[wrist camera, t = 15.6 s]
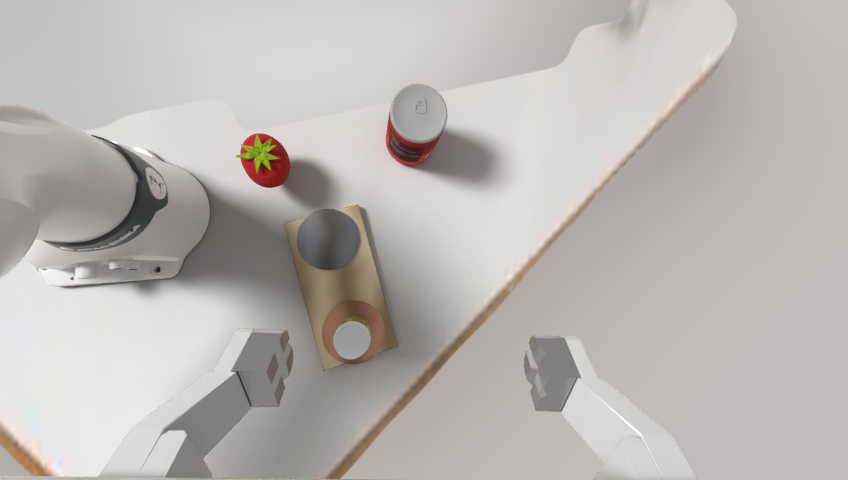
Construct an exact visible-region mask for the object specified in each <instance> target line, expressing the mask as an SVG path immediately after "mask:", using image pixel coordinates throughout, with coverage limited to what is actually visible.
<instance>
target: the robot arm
mask: <svg viewBox="0 0 848 480" xmlns="http://www.w3.org/2000/svg"><path fill="white" fill-rule="evenodd" d="M209 218H210V205H209V200H208V197H207V194H206V192H205V190H204V188H203V186H202V185H201V184H200V182H199V181H198V180H197V179H196V178H195V177H194V176H193V175H191V174H190V173H189V172H187V171H185V170H184V169H182V168H180V167H177V166H174V165H171V164H168V163H165V162H163V161H161V160H160V159H159V158H157V157H156V156H155V155H154V154H153V153H151V152H150V151H148V150H146V149H143V148H141V147H135V148H132V149H131V148H129V147H126V146H124V145H121V144H118V143H116V142H113V141H110V140H107V139H104V138H101V137H98V136H94V135H89V134H87V133H85V132H83V131H81V130H79V129H77V128H75V127H73V126H71V125H69V124H67V123H65V122H63V121H61V120H59V119H57V118H55V117H53V116H51V115H49V114H47V113H45V112H43V111H41V110H37V109H34V108H30V107H26V106H20V105H10V104H9V105H0V279H1V278H2V277H4V276H5V275H6V274H7V273H9V272H10V271H11V270H12V269H13V268H14V267H15V266H16V265H17V264H18V263H19V262H20V261H21V260H22V259H23V258H25V259H26V261H28V262H29V263H30V264H31V265H32V266H34V268H35V269H36V271H37V272H38V273H39V275H40V276H41V277H42V278H43V279H44V280H45V281H46V282H47V283H49V284H50V285H52V286H61V287H64V286H77V285H90V284H102V283H114V282H127V281H139V280H151V279H164V278H172V277H174V276H176V275H177V273H178V272H179V270H180V268H181V266H182V264H183V261H184V259H185V257H186V255H187V254H188V253H189V252H190V251H191V250H192V249H193V248H194V247H195V246H196V245H197V244H198V243H199V241H200V240H201V238H202V237H203V235H204V233H205V231H206V229H207V226H208V223H209ZM158 267H160V269H161V270H160V272H157V268H158ZM288 340H289V334H288V331H285V330H266V329H238V330H237V331H236V332H235V334H234V335H233V337H232V339H231V341H230V343H229V344H228V346H227V348H226V350H225V352H224V354H223V355H222V357H221V359H220V361H219V363H218V364H217V366H216V368H215V370H214V371H209V372H207V373H206V374H205V375H203V376H202V377H200V378H199V379H198V380H196V381H195V382H194V383H192V384H191V385H190V386H188V387H187V388H185V389H184V390H183V391H181V392H180V393H179V394H177V395H176V396H174V397H173V398H172V399H170V400H169V401H168V402H166V403H165V404H163V405H162V406H161V407H159V408H158V409H157V410H155V411H154V412H152V413H151V414H150V415H148V416H147V417H146V418H144V419H143V420H141V421H140V422H139V423H137V424H136V425H135V426H133V427H132V428H131V429H130V430H129V432H128V433H127V435H126V436H125V438H124V439H123V441H122V442H121V444H120V445H119V447H118V448H117V450H116V451H115V452H114V454H113V455H112V457H111V458H110V460H109V461H108V463H107V464H106V466H105V467H104V469H103V470H102V472H101V473H100V475H99V476H98V477H48V476H0V480H360V479H251V478H212V473H211V471H210V470H209V468H208V466H207V465H206V463H205V462H204V460H203V458H204V457H205V456H206V455H207V454H208V453H209V452H210V451H211V450H212V449H213V447H214V446H215V445H216V444H217V443H218V442H219V441H220V440H221V439H222V438H223V437H224V436H225V435H226V434H227V433H228V432H229V431H230V430H231V429H232V428H233V427H234V426H235V425H236V424H237V423H238V422H239V421H240V420H241V419H242V417H243V416H244V415H245V414H246V413H247V412H248V411H249V410H250V409H251V407H278V406H279V403H280V400H281V397H282V394H283V391H284V389H285V386H284V383H283V380H284V379H285V378H286V377H288V376H289V374H290V371H291V368H292V362H293V350H292V346H290V345H289V344H288ZM529 345H530V349H529V350H528V351H526V354H525V357H524V369H525V375H526V378H527V380H528V381H529V382H530V383H531V384H532V388H531V391H530V393H531V396H532V399H533V403H534V407H535V410H536V411H555V412H561V413H562V415H563V416H564V417H565V418H566V419H567V421H568V422H569V423H570V424H571V425H572V426H573V428H574V429H575V430H576V431H577V432H578V433H579V435H580V436H581V437H582V438H583V439H584V441H586V443H587V444H588V445H589V446H590V447H591V449H592V450H593V451H594V452H595V453H596V455H597V456H598V457H599V458H600V459H601V460H602V462H603V463H604V464H603V466H602V467H601V469H600V470H599V472H598V473H597V475H596V476H595V478H594V480H697V478H696V477H695V475H694V473H693V472H692V470H691V468H690V466H689V465H688V463H687V461H686V459H685V457H684V456H683V454H682V452H681V450H680V449H679V447H678V445H677V443H676V442H675V440H674V438H673V437H672V436H671V435H670V434H669V433H668V432H667V431H665V430H664V429H663V428H662V427H661V426H659V425H658V424H657V423H656V422H654V421H653V420H652V419H651V418H650V417H648V416H647V415H646V414H645V413H644V412H643V411H641V410H640V409H639V408H638V407H637V406H635V405H634V404H633V403H632V402H630V401H629V400H628V399H627V398H626V397H624V396H623V395H622V394H621V393H620V392H618V391H617V390H616V389H615V388H614V387H612V386H611V385H610V384H609V383H607V382H606V381H605V380H604V379H599V378H598V376H597V374H596V372H595V370H594V368H593V366H592V363H591V361H590V359H589V357H588V355H587V353H586V351H585V349H584V347H583V345H582V342H581V340H580V339H579V338H578V337H577V336H532V337H531V338H530V341H529ZM362 480H363V479H362Z"/></svg>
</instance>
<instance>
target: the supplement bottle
mask: <svg viewBox="0 0 848 480" xmlns="http://www.w3.org/2000/svg"><path fill="white" fill-rule="evenodd" d="M370 342H371V334H370V327H369V325H368V323H367V322H366V321H365V320H364V319H363V318H360V317H357V316H353V317H348V318H346V319H344V320H343V321H342V322H341V323H340V325H339V326H338V328H337V330H336V332H335V334H334V337H333V344H334V347H335V349H336V351H337V353H338V354H339V355H340V356H341V357H343V358H345V359H356V358H358V357H360V356H361V355H363V354H364V353H365V352H366V351H367V349H368V348H369V346H370Z"/></svg>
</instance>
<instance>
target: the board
mask: <svg viewBox="0 0 848 480" xmlns="http://www.w3.org/2000/svg"><path fill="white" fill-rule="evenodd" d="M284 225H285V228H286V232H287V236H288V240H289V243H290V247H291V251H292V255H293V258H294V262H295V266H296V270H297V274H298V277H299V281H300V285H301V289H302V292H303V296H304V300H305V304H306V307H307V311H308V315H309V319H310V322H311V326H312V330H313V334H314V337H315V341H316V345H317V349H318V352H319V356H320V360H321V364H322V368H323V371H325V370H328V369H331V368H334V367H337V366H340V365H343V364H346V363H347V364H357V363H361V362H364V361H366V360H368V359H370V358H371V357H373V356H374V355H375V354H376V353H379V352H382V351H386V350H389V349H392V348H395V347H398V346H397V343H396V339H395V335H394V332H393V328H392V324H391V321H390V317H389V314H388V310H387V306H386V303H385V299H384V296H383V292H382V288H381V285H380V281H379V278H378V274H377V270H376V267H375V263H374V260H373V256H372V252H371V249H370V245H369V241H368V238H367V234H366V231H365V227H364V223H363V220H362V216H361V213H360V209H359V205H354V206H350V207H346V208H342V209H338V210H334V209H323V210H319V211H316V212H314V213H312V214H311V215H309V216H308V217H306V218H302V219H298V220H294V221H290V222H286V223H284ZM353 316H357V317H360V318H363V319H364V320H365V321H366V322H367V323H368V325H369V327H370V334H371V342H370V346H369V348H368V349H367V351H366V352H365V353H364V354H363V355H361V356H360V357H358V358H356V359H345V358H343V357H341V356H340V355H339V354H338V353H337V351H336V349H335V347H334V344H333V337H334V334H335V332H336V330H337V328H338V326H339V325H340V323H341V322H342V321H343V320H344V319H346V318H348V317H353Z"/></svg>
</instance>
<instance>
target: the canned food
mask: <svg viewBox="0 0 848 480" xmlns="http://www.w3.org/2000/svg"><path fill="white" fill-rule="evenodd" d="M446 121H447V108H446V104H445V102H444V100H443V98H442V97H441V95H440V94H439V93H438V92H437V91H436V90H434V89H433V88H431V87H429V86H427V85H423V84H412V85H408V86H406V87H404V88H402V89H401V90H400V91H399V92H398V93H397V94H396V95H395V97H394V99H393V101H392V104H391V108H390V113H389V120H388V127H387V134H386V145H387V148H388V151H389V152H390V154H391V156H392V157H393V158H394V159H395V160H397V161H398V162H400V163H402V164H405V165H416V164H419V163H421V162H423V161H424V160H426V159H427V158H428V157H429V155H430V154H431V152H432V150H433V148H434V146H435V145H436V143H437V141H438V139H439V137H440V136H441V134H442V132H443V130H444V128H445V125H446Z"/></svg>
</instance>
